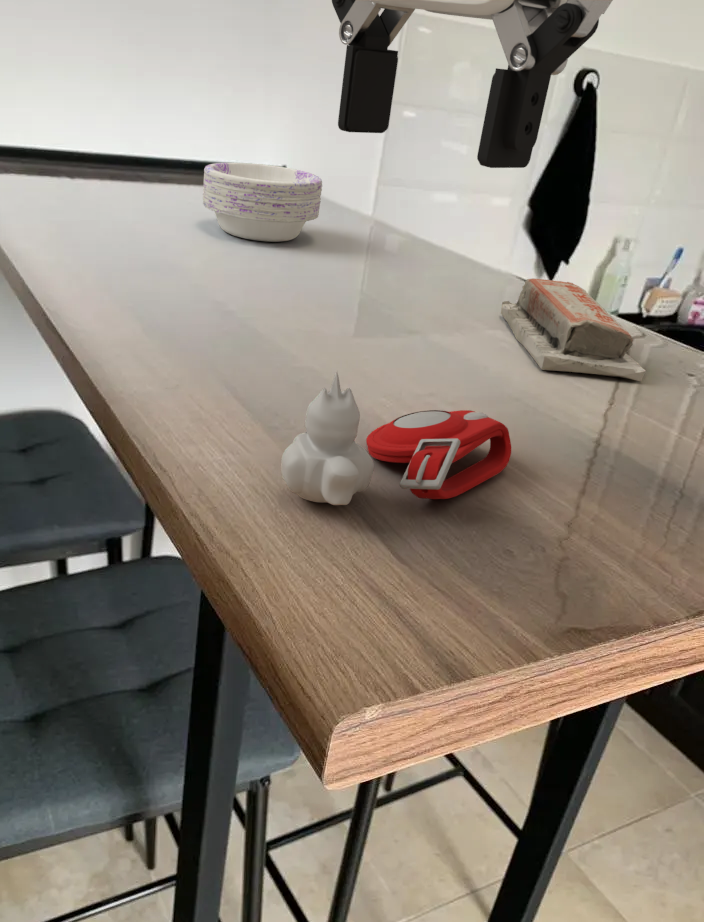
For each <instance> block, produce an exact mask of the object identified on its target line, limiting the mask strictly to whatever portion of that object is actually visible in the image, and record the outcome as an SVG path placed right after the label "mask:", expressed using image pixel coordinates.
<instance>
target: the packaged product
mask: <svg viewBox="0 0 704 922" xmlns="http://www.w3.org/2000/svg"><path fill="white" fill-rule="evenodd" d="M500 315H501V316H502V317H503V319H504V320H505V321H506V322H507V324H508V326H509V328H510V329H511V331H512V333H513V335H514V337H515V338H516V341H518V342H519V343H520V344H521V345H522V346H523V347H524V348H525V349H526V351H527V352H528V354H529V355H530V356H531V358H532V359H533V360H534V361H535V363H536V364H537V365H538V367H539V368H540V370H542V371H557V372H569V373H571V372H572V373H580V374H581V373H582V374H590V375H599V376H607V377H615V378H622V379H627V380H634V381H638V382H642V380H643V378H644V375H645V374H646V372H647V370H646V369H644V367H642V366H641V365H640V363H638V362H637V361H636V360H635V359H633V358H632V357H631V355H629V354H627V352H628V351H629V350H630V347H632V346H633V344H634V343H633V341H634V340H633V337H632V335H631V334H630V333H629V331H627V330H626V328H624V326H623V325H622V324H621V323H619V322H618V321H617V319H615V318H614V317H613V316H612V315H611V314H610V313H609V312H608V311H606V309H605V308H603V307H602V306H601V304H599V303H598V302H597V301H596V299H595V298H593V297H592V296H591V294H589V293H588V292H587V291H586V289H584V288H582V287H581V286H579V285H577V284H574V283H573V282H570V281H562V280H554V279H553V280H552V279H551V280H550V279H542V278H526V279H525V282H524V284H523V285H522V290H521V292H520V294H519V296H518V299H517V302H516V303H513V302H511V301H510V300H504V301H502V302H501V309H500Z"/></svg>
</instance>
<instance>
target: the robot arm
mask: <svg viewBox="0 0 704 922" xmlns="http://www.w3.org/2000/svg"><path fill="white" fill-rule="evenodd" d="M613 1H614V0H331V3H332V7H333V10H334V11H335V13H336V16H337V19H338V21H339V22H340V24H339V30H338V36H339V40H340V42H341V43H342V44H343V45H345V46H346V50H345V56H344V57H345V58H344V67H343V76H342V84H341V94H340V102H339V110H338V118H337V126H338V129H339V130H340V131H343V132H346V133H359V134H360V133H361V134H362V133H364V134H365V133H366V134H383V133H385V132H386V131H388V129H389V126H390V119H391V112H392V106H393V105H392V104H393V99H394V98H393V97H394V91H395V83H396V76H397V69H398V63H399V56H398V55H399V50H395V49H394V50H393V49H388V48H389V47H390V45H391V44H392V43H393V41H394V40H395V39H396V37H397V36H398V34H399V33H400V32H401V30H402V29H403V27H404V26H405V24H406V23H407V21H408V20H409V19H410V17H411V16H412V14H413V13H414V12H415V10H422V11H423V10H424V11H426V12H430V13H434V14H438V15H439V14H440V15H446V16H447V15H448V16H453V17H455V16H456V17H463V18H471V19H472V18H473V19H481V20H490V21H492V22H493V25H494V28H495V30H496V33H497V36H498V39H499V42H500V44H501V48H502V50H503V53H504V56H505V59H506V61H507V68H506V69H505V68H498V67H497V68H495V71H494V74H493V75H492V78H491V81H490V88H489V92H488V93H489V94H488V97H487V102H486V103H487V104H486V109H485V114H484V119H483V124H482V129H481V135H480V138H479V139H480V140H479V144H478V150H477V155H476V158H477V159H476V160H477V161H478V164H479V165H480V166H482V167H486V168H490V169H523V168H524V169H525V168H526V167H527V166H528V165H529V163H530V161H531V159H532V158H531V157H532V154H533V149H534V147H535V145H536V143H537V140H538V136H539V131H540V126H541V122H542V117H543V113H544V109H545V105H546V100H547V95H548V92H549V91H548V90H549V87H550V82H551V77H552V76H557V75H559V74H561V73H562V72H564V70H565V69H566V67H567V64H568V61H569V60H568V59H569V58H570V57H572V56H573V55H574V54H575V53H576V52H577V51H578V49H580V48H581V47H582V46H583V45H584V44H585V43H586V42H588V40H589V39H591V37H593V36H594V34H595V33H596V31H597V29H598V27H599V24H600V17H602V15H605V13H606V11H607V10H608V9H609V7H610V5H611V4H612V2H613ZM382 9H383V11H382V12H381V10H382ZM380 12H381V13H380ZM379 13H380V14H379Z"/></svg>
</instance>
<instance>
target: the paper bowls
mask: <svg viewBox="0 0 704 922" xmlns="http://www.w3.org/2000/svg"><path fill="white" fill-rule="evenodd" d="M203 172H204V173H203V186H202V187H203V188H202V189H203V190H202V200H203V202H202V205H203V206H204V207H205V208H206V209H208V210H210V211H212V212H214V214H215V218H216V220H217V224H218V225H219V227H220V229H221V230H223V231H224V232H225V233H227V234H229V235H232V236H235V237H238V238H240V239H241V238H242V239H245V240H251V241H257V242H269V243H270V242H272V243H273V242H275V243H276V242H278V243H279V242H287V241H292V240H294V239H296V238H297V237H298V236H299V235H300V233H301V231H302V230H303V228H304V226H305V224H306V222H309V221H314V220H317V219H318V218H319V215H320V206H321V200H322V199H321V198H322V197H321V195H322V191H323V180H322V178H321V177H320V176H318V175H317V174H314V173H311V172H308V171H304V170H301V169H296V168H291V167H286V166H278V165H270V164H263V163H252V162H250V163H249V162H215V163H210V164H207V165H205V166H204V169H203Z"/></svg>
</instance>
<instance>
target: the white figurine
mask: <svg viewBox="0 0 704 922" xmlns="http://www.w3.org/2000/svg"><path fill="white" fill-rule="evenodd" d="M341 389H342V388H341V382H340V377H339V374H338V371H336V372H335V374H334V376H333V379H332V382H331V386H330V389H329V391H327V388H326V387H323V388H322V389H321V390H320V392H319V393H318V395H317V396H316V397H314V399H312V401H311V402H310V403H309V405H307V408H306V415H305V419H304V429H305V431H306V432H300V433H299V434H297V435H296V436H295V437H294V439H293V441H292V443H290V444H289V445H288V446H287V447H286V448H285V450H284V451H283V453H282V455H281V459H280V474H281V477H282V479H283V481H284V483H285V485H286V487H287V488H288V490H289V491H290V492H291V493H293V494H296V495H297V496H298V497H299V498H302V499H304V500H306V501H310V502H314V503H328V504H330V505H333V506H346V505H348V504H350V502H352V501H351V500H352V498H353V496H354V494H356V493H361V492H364V491H365V490H366V489H367V488H368V486H369V485H370V483H371V480H372V477H373V474H374V470H375V462H374V460H373V457H372V456H371V455H370V454H369V452H368V450H367V449H366V448H365V447H364V446H363V445H362V444H359V443H357V442H356V441H355V440H356V438H357V435H358V431H359V425H360V419H361V413H360V410H359V409H360V408H359V406H358V404H357V402H356V400H355V397H354V393H353V391H352V389H351V387H348V388H346V389H345V390H341Z"/></svg>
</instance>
